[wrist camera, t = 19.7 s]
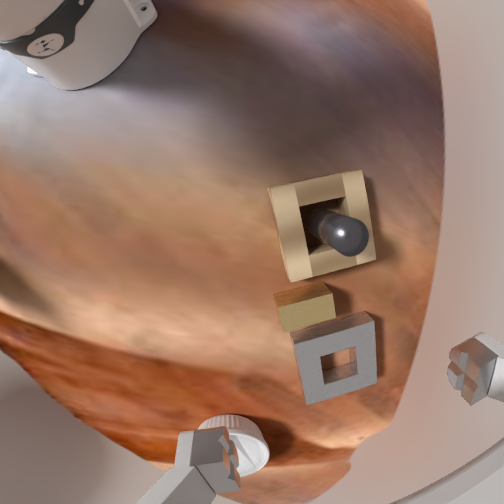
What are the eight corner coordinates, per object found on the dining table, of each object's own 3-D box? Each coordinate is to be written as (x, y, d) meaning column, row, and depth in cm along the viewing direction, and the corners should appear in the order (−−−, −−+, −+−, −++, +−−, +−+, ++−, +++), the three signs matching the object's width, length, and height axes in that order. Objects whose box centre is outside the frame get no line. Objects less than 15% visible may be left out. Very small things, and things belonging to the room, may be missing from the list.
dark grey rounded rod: (303, 211, 34) (330, 222, 24) (329, 205, 34) (365, 214, 24) (308, 239, 35) (336, 260, 25) (334, 232, 35) (371, 251, 25)
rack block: (267, 187, 33) (270, 188, 30) (351, 170, 33) (361, 169, 30) (286, 274, 35) (291, 282, 32) (365, 253, 35) (376, 259, 32)
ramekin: (280, 424, 41) (285, 448, 36) (240, 461, 42) (242, 485, 37) (215, 396, 39) (213, 422, 34) (179, 438, 40) (176, 462, 35)
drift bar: (273, 294, 36) (278, 307, 32) (322, 281, 36) (332, 293, 32) (278, 316, 36) (283, 331, 32) (325, 304, 36) (335, 317, 33)
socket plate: (289, 332, 37) (294, 344, 34) (364, 310, 37) (374, 320, 34) (302, 391, 39) (306, 404, 36) (368, 371, 39) (376, 382, 36)
